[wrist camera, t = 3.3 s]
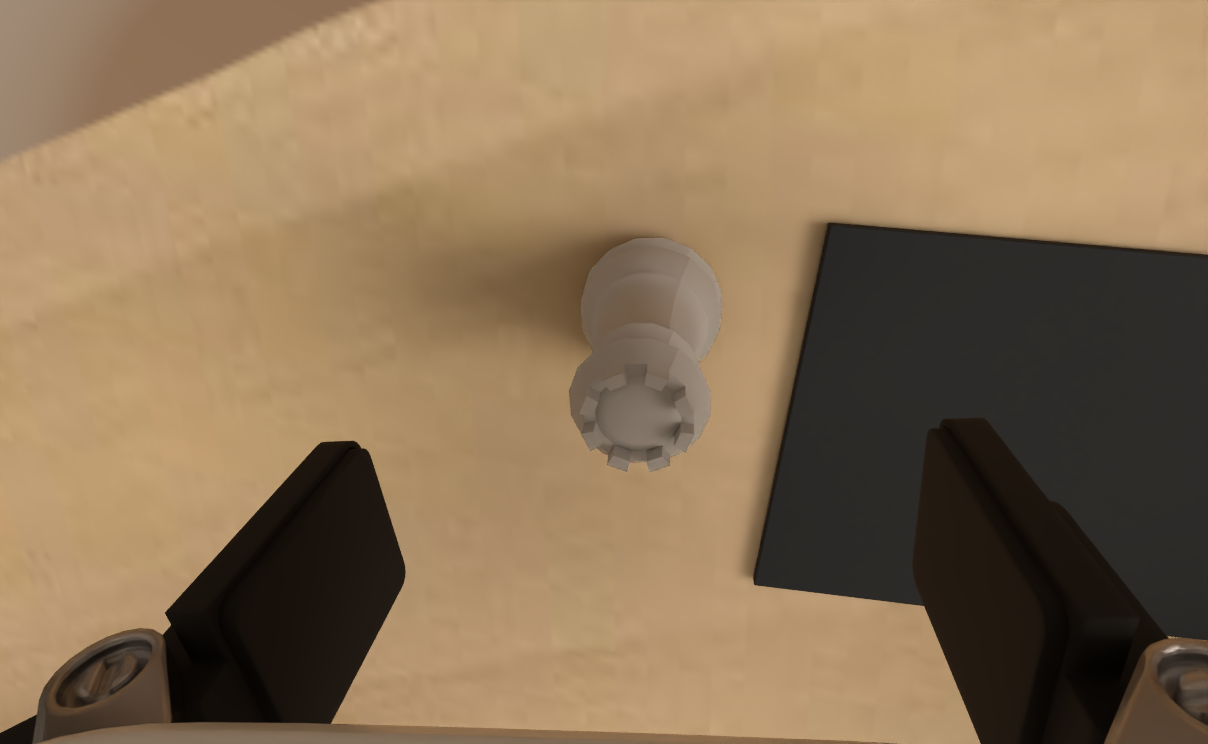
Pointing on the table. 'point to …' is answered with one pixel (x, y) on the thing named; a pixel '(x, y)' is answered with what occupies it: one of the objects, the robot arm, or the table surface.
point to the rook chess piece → (646, 352)
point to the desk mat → (998, 405)
